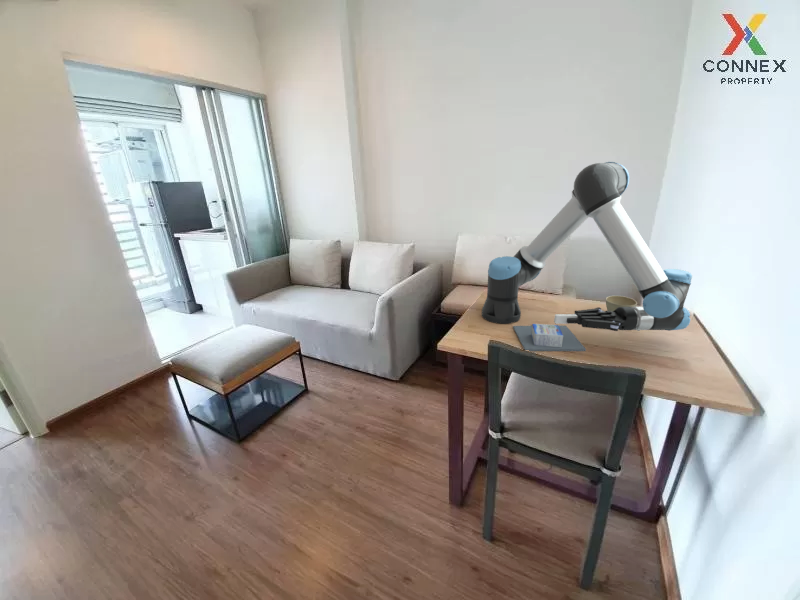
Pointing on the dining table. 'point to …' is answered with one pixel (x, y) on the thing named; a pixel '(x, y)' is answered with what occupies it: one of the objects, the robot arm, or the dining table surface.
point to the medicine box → (547, 335)
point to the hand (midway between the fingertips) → (555, 318)
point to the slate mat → (567, 345)
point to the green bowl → (619, 302)
